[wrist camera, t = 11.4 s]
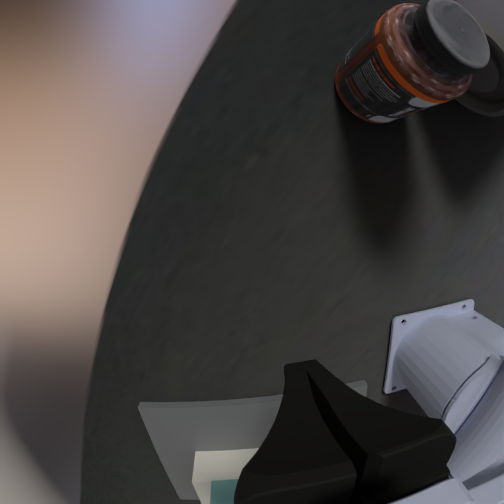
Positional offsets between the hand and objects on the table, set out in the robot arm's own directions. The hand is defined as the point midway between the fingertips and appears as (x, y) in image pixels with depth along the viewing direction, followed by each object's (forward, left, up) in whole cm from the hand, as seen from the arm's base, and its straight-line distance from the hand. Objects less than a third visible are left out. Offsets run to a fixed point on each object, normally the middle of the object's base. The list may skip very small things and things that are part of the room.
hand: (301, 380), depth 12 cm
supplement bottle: (-9, -15, -11) cm, 20 cm away
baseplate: (+2, +17, -10) cm, 20 cm away
